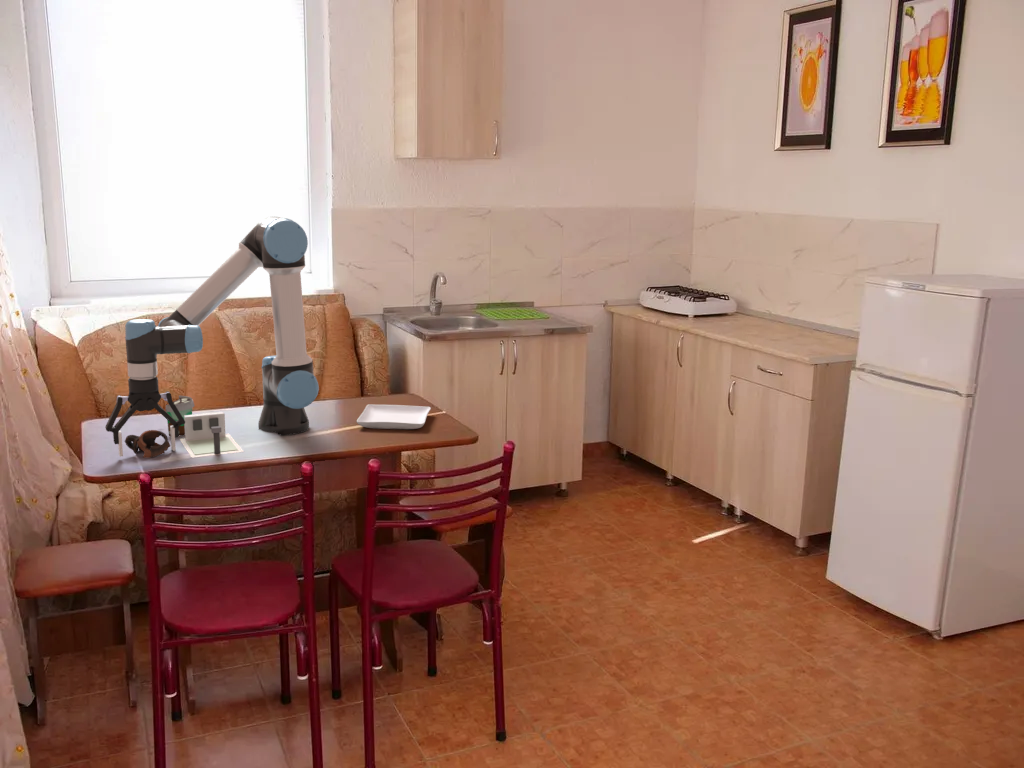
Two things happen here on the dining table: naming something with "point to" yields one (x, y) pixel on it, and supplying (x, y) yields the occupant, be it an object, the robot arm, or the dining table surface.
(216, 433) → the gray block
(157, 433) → the pottery mug
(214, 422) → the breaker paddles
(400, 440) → the dining table surface
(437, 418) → the dining table surface
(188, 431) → the stand
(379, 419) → the salad plate
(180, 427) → the food container
